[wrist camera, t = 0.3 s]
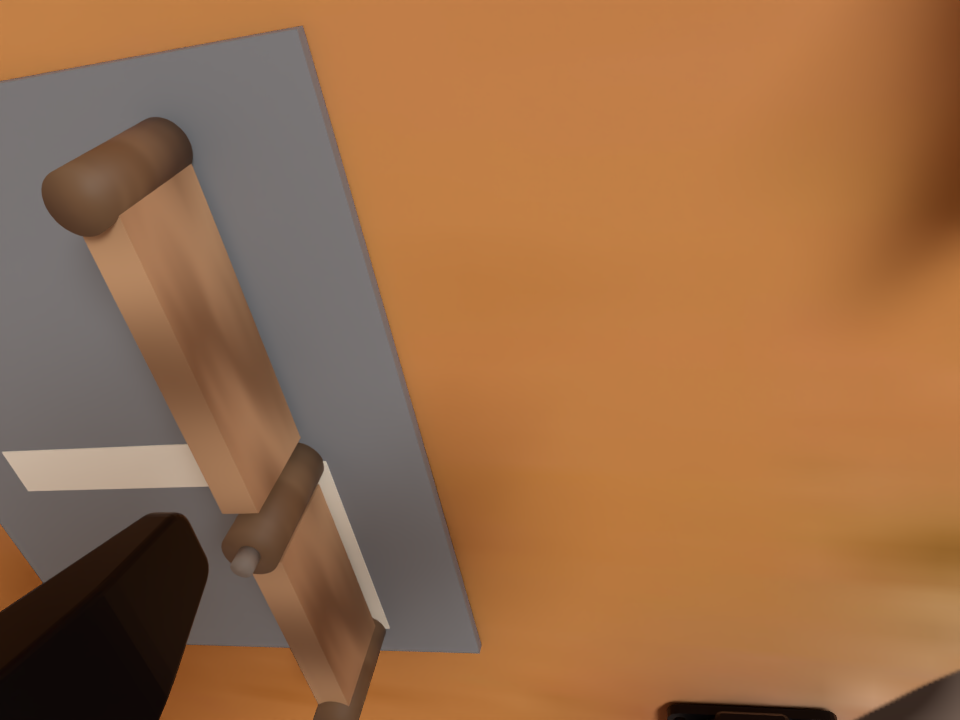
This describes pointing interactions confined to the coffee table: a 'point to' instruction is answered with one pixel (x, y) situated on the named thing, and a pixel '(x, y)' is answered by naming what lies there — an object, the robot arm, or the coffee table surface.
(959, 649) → the coffee table surface
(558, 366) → the coffee table surface
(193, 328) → the brown wooden bar
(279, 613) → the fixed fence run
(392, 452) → the card
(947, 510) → the coffee table surface
